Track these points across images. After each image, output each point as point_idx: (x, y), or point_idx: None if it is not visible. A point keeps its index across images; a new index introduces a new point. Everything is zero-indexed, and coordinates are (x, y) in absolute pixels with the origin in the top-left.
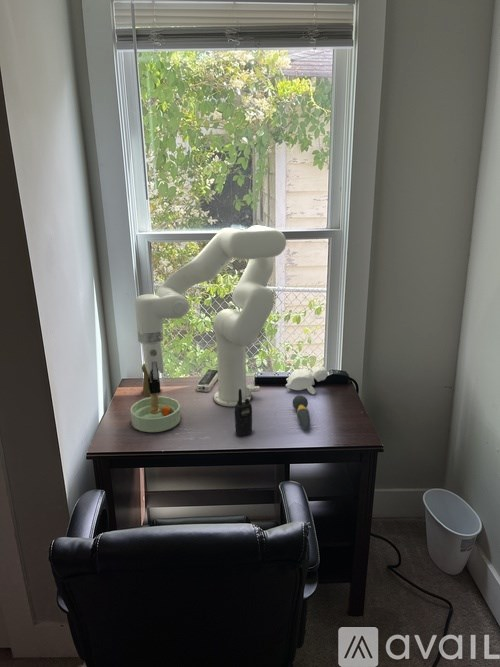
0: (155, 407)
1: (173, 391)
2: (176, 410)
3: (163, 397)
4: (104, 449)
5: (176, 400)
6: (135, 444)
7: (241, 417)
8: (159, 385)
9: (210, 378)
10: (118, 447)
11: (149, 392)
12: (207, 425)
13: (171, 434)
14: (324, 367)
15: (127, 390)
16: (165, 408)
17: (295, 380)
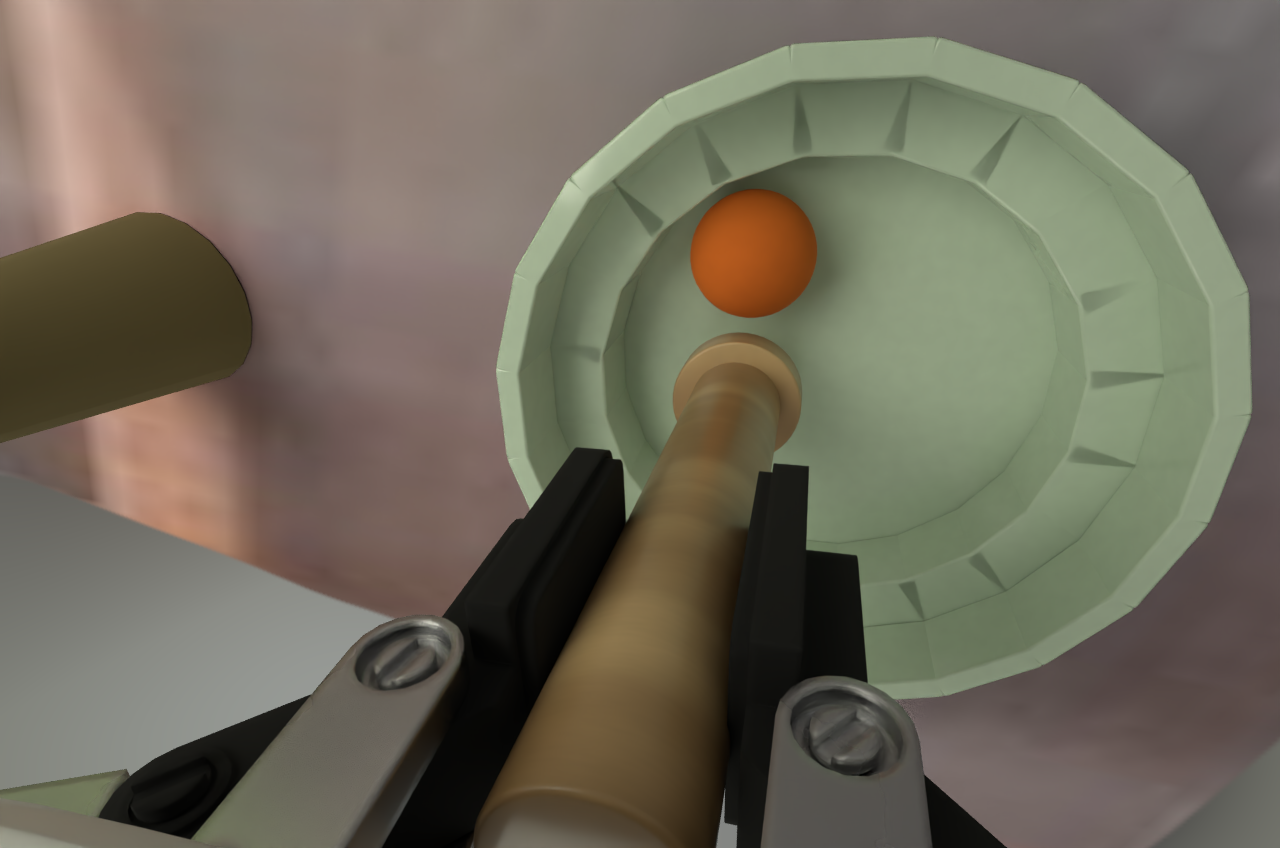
0: (777, 421)
1: (146, 53)
2: (1114, 141)
3: (542, 277)
4: (1129, 823)
5: (710, 82)
6: (1214, 628)
7: None
8: (802, 565)
9: None
10: (1169, 745)
11: (219, 340)
12: None
13: (1252, 249)
14: None
15: (157, 487)
16: (776, 274)
17: None
